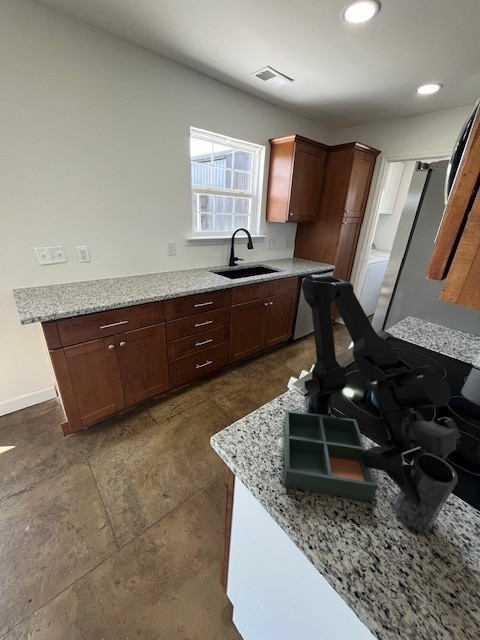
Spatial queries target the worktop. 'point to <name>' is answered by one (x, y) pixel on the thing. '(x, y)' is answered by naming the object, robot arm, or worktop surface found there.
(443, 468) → the grey tumbler
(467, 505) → the worktop surface
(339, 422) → the divided compartment tray
